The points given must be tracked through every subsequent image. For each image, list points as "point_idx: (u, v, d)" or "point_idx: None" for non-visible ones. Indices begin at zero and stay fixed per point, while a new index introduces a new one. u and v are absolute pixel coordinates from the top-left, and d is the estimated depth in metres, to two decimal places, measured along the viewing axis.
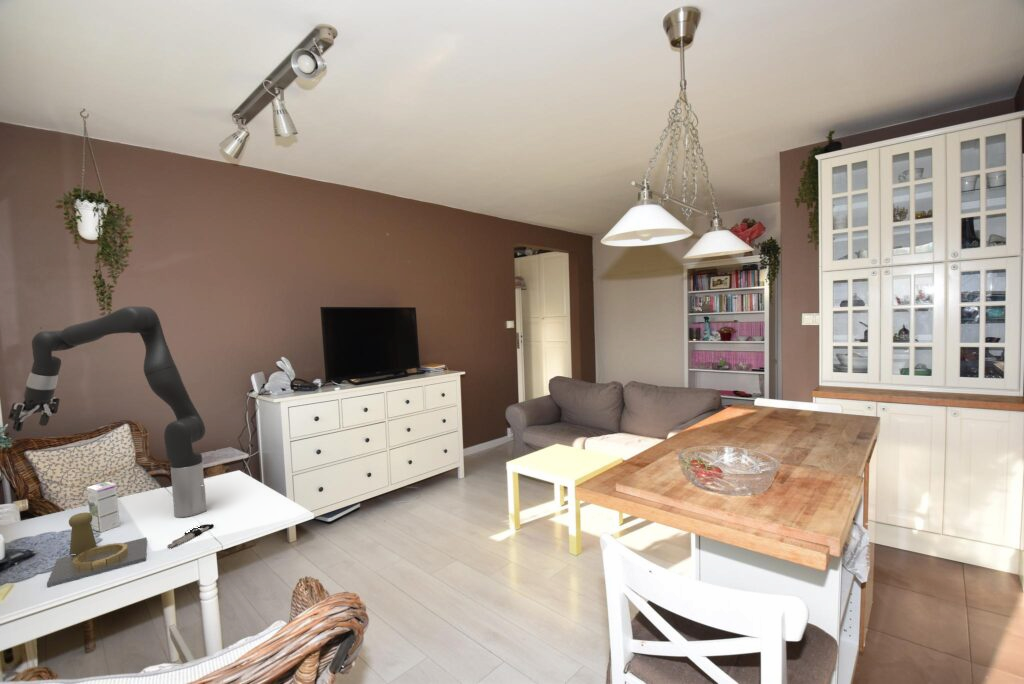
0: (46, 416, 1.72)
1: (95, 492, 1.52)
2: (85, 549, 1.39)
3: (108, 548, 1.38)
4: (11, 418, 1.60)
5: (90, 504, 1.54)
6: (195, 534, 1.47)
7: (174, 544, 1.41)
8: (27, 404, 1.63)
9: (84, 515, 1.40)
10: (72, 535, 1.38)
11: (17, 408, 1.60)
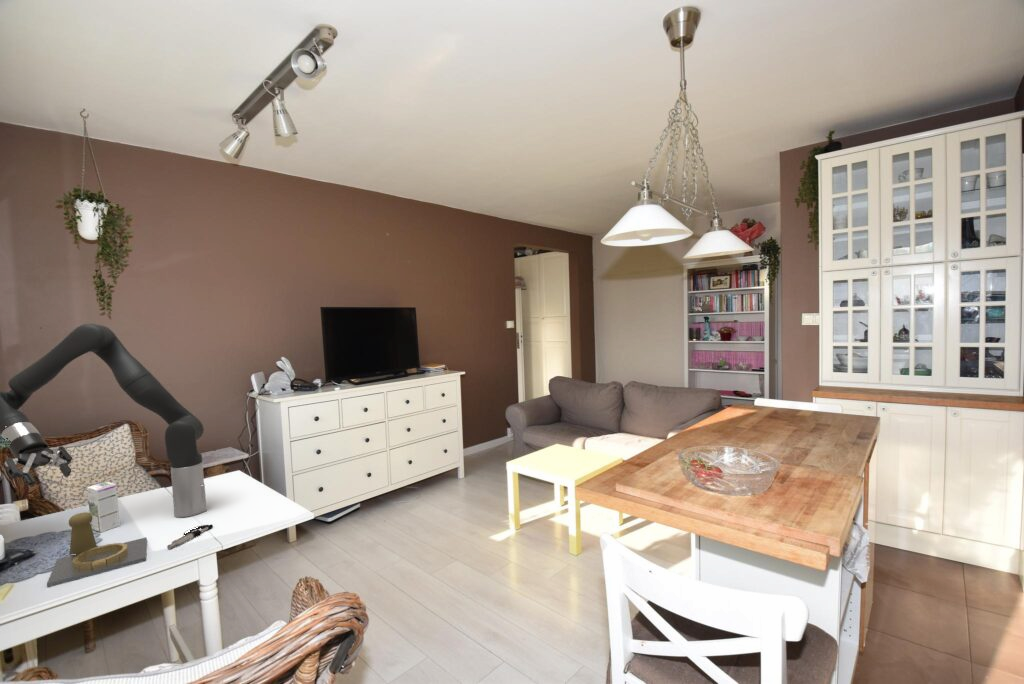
0: (62, 465, 1.48)
1: (95, 492, 1.52)
2: (85, 549, 1.39)
3: (108, 548, 1.38)
4: (12, 474, 1.38)
5: (90, 504, 1.54)
6: (195, 535, 1.47)
7: (174, 544, 1.41)
8: (19, 457, 1.41)
9: (84, 515, 1.40)
10: (72, 535, 1.38)
11: (7, 462, 1.38)
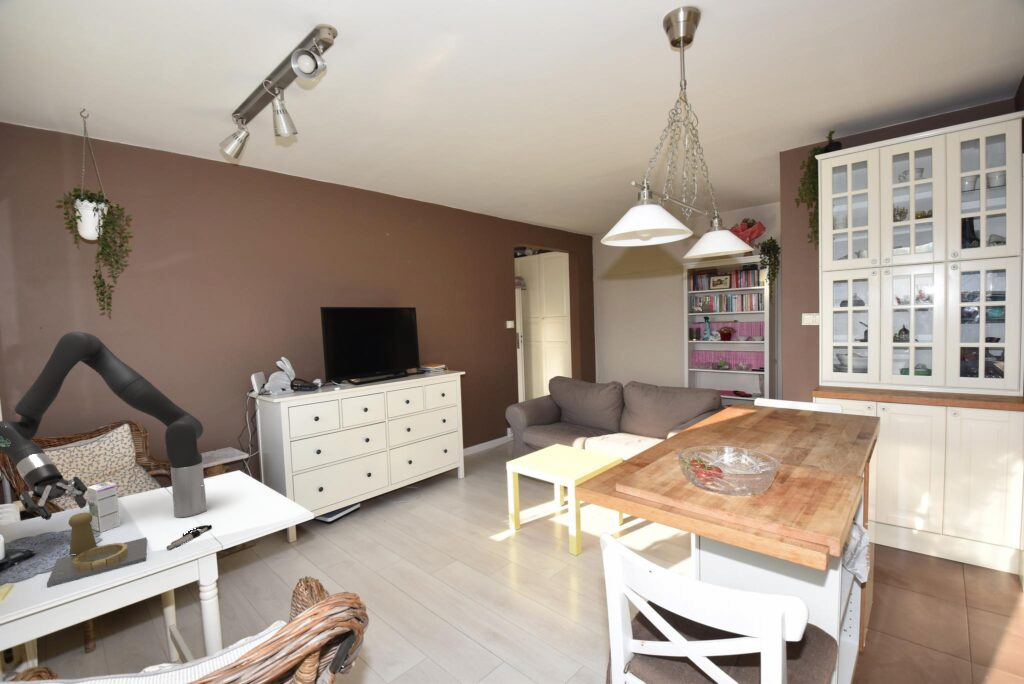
0: (77, 496, 1.46)
1: (95, 492, 1.52)
2: (85, 549, 1.39)
3: (108, 548, 1.38)
4: (28, 508, 1.36)
5: (90, 504, 1.54)
6: (194, 535, 1.46)
7: (173, 545, 1.40)
8: (34, 489, 1.40)
9: (84, 515, 1.40)
10: (72, 535, 1.38)
11: (23, 495, 1.37)
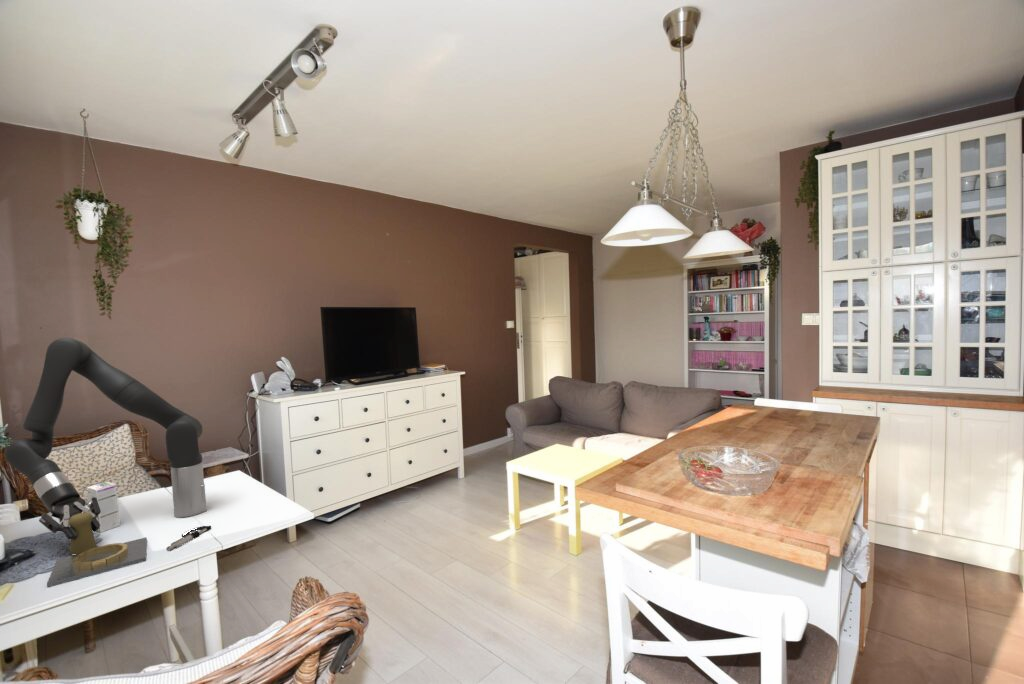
0: None
1: (95, 492, 1.52)
2: (85, 549, 1.39)
3: (108, 548, 1.38)
4: (53, 529, 1.36)
5: None
6: (193, 536, 1.46)
7: (173, 546, 1.40)
8: (52, 510, 1.38)
9: (84, 515, 1.40)
10: None
11: (44, 518, 1.35)
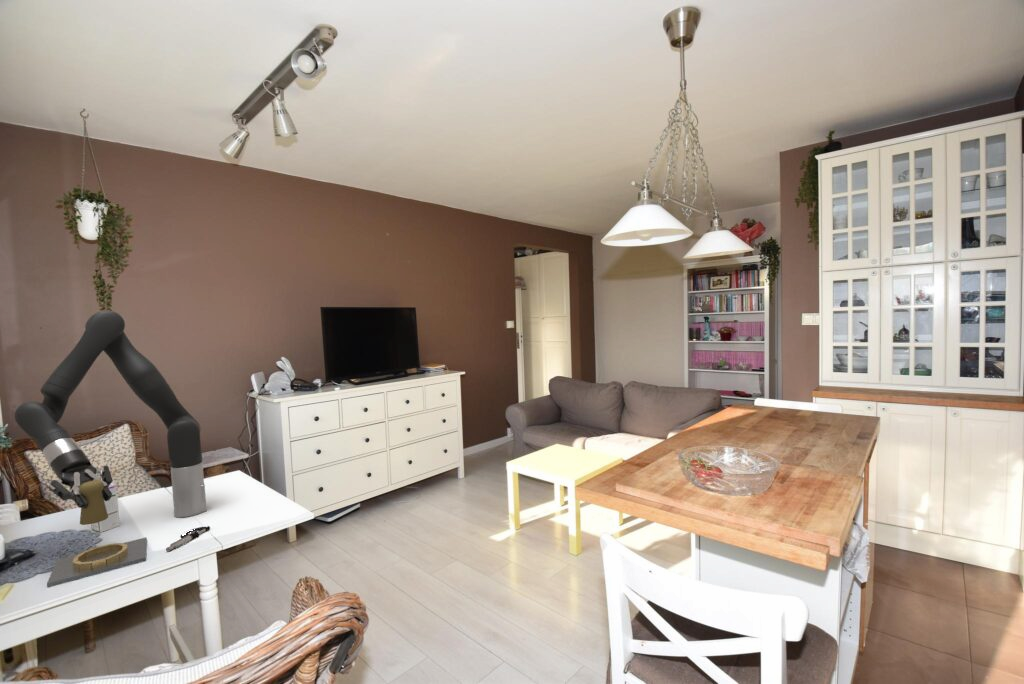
0: None
1: None
2: (96, 519, 1.32)
3: (108, 548, 1.38)
4: (63, 496, 1.28)
5: None
6: (193, 536, 1.45)
7: (173, 547, 1.39)
8: (62, 477, 1.31)
9: (96, 482, 1.32)
10: None
11: (53, 485, 1.28)
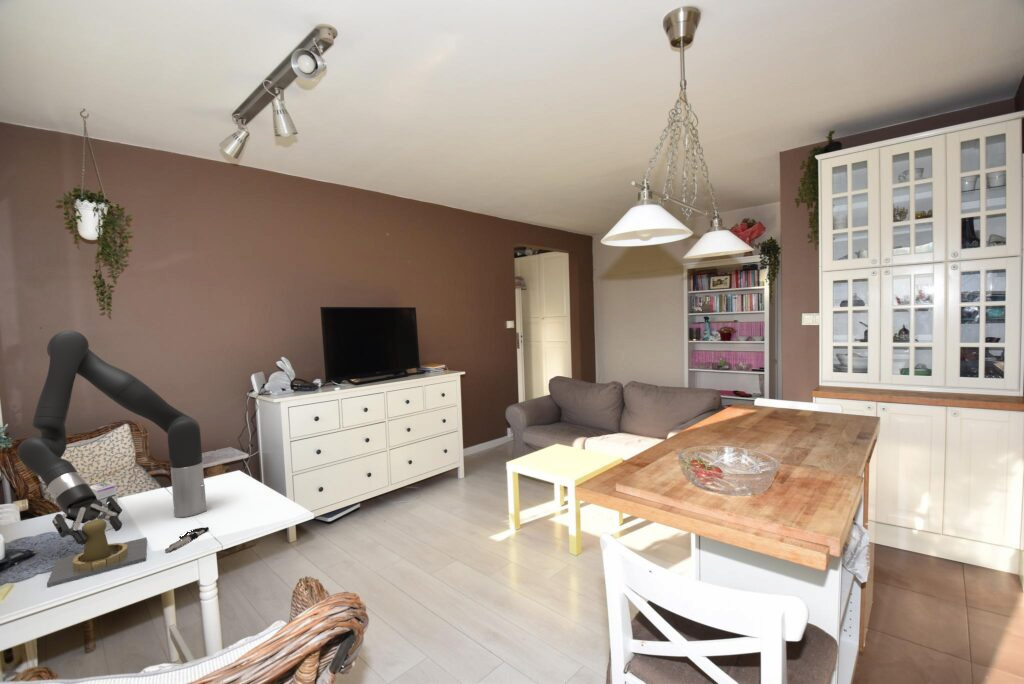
0: (112, 518, 1.37)
1: (95, 492, 1.52)
2: (99, 559, 1.31)
3: None
4: (62, 533, 1.27)
5: None
6: (192, 537, 1.45)
7: (172, 548, 1.38)
8: (68, 512, 1.30)
9: (98, 522, 1.32)
10: (85, 543, 1.30)
11: (56, 519, 1.28)
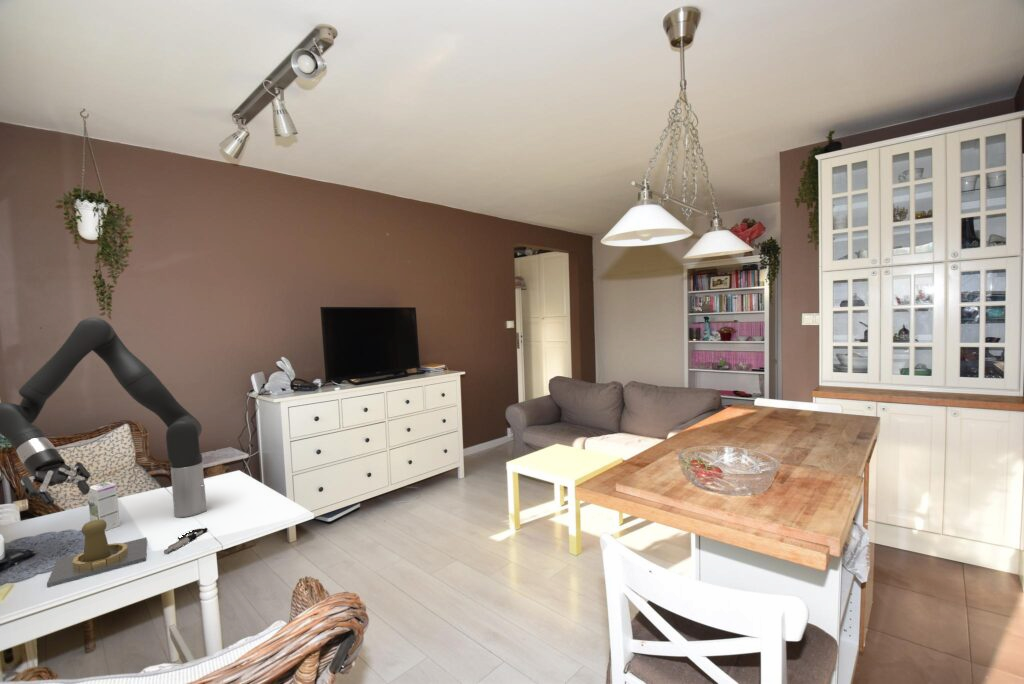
0: (80, 482, 1.40)
1: (95, 492, 1.52)
2: (99, 559, 1.31)
3: None
4: (28, 494, 1.30)
5: (90, 504, 1.54)
6: (190, 538, 1.44)
7: (171, 549, 1.38)
8: (35, 475, 1.34)
9: (98, 522, 1.32)
10: (85, 543, 1.30)
11: (23, 480, 1.31)
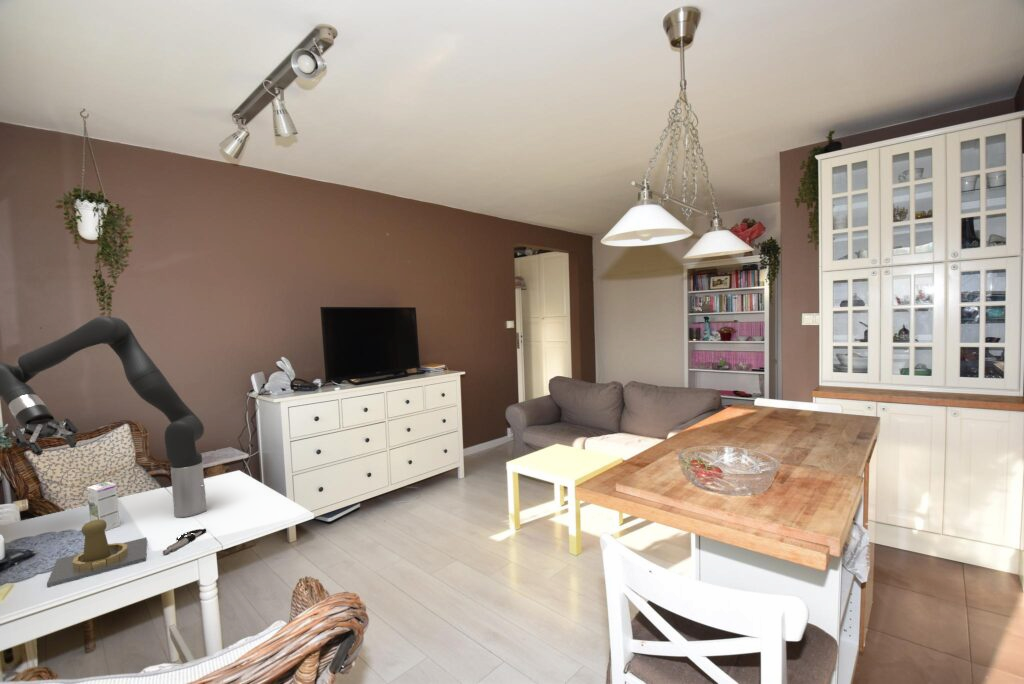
0: (68, 436, 1.51)
1: (95, 492, 1.52)
2: (99, 559, 1.31)
3: None
4: (19, 443, 1.41)
5: (90, 504, 1.54)
6: (189, 539, 1.44)
7: (169, 550, 1.37)
8: (26, 427, 1.44)
9: (98, 522, 1.32)
10: (86, 543, 1.30)
11: (14, 432, 1.41)
